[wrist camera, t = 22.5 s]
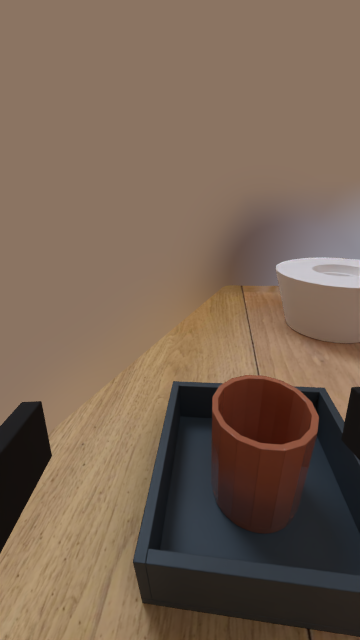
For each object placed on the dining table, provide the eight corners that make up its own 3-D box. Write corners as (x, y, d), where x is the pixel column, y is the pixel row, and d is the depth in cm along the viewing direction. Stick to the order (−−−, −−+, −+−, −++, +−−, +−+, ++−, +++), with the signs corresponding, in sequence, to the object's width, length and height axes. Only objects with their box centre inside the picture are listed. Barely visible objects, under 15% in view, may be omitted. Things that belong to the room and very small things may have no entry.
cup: (210, 528, 22) (211, 445, 17) (211, 446, 29) (212, 373, 25) (310, 539, 21) (337, 454, 16) (285, 451, 28) (300, 376, 24)
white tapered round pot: (358, 304, 66) (371, 256, 61) (428, 355, 44) (457, 288, 39) (262, 303, 69) (266, 258, 64) (282, 350, 47) (292, 288, 42)
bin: (142, 603, 18) (132, 562, 16) (175, 416, 34) (173, 381, 32) (414, 645, 16) (451, 605, 14) (315, 424, 32) (324, 387, 30)
